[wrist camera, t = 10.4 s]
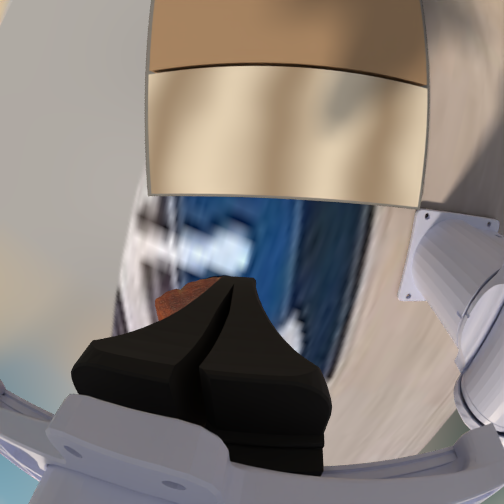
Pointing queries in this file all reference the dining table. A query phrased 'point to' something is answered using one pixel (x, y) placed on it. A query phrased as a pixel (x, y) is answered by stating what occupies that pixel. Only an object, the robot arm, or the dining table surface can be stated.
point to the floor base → (290, 44)
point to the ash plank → (286, 134)
